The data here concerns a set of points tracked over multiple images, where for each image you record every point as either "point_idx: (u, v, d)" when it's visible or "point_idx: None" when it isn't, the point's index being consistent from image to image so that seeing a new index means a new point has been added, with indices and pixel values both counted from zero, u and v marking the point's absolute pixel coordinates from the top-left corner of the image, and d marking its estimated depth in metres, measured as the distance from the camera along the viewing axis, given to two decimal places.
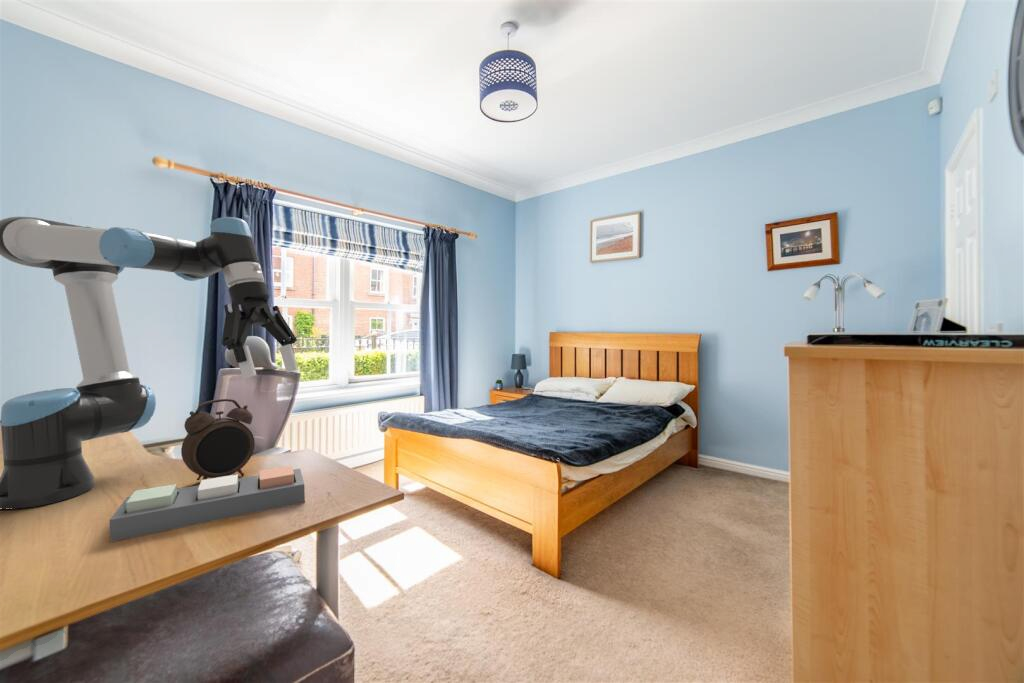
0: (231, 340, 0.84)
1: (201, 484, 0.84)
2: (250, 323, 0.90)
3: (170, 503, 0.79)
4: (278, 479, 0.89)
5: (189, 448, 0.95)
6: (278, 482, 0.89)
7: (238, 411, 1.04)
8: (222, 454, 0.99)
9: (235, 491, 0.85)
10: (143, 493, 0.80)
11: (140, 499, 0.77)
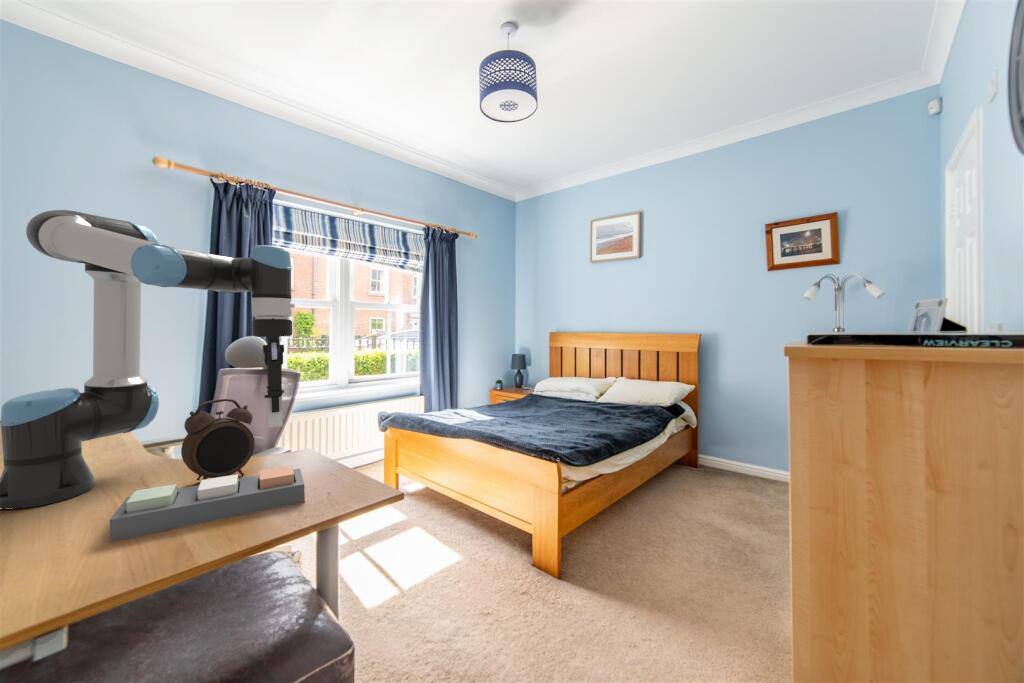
0: (281, 393, 0.87)
1: (201, 484, 0.84)
2: None
3: (170, 503, 0.79)
4: (278, 479, 0.89)
5: (189, 448, 0.95)
6: (278, 482, 0.89)
7: (238, 411, 1.04)
8: (222, 454, 0.99)
9: (235, 491, 0.85)
10: (143, 493, 0.80)
11: (140, 499, 0.77)
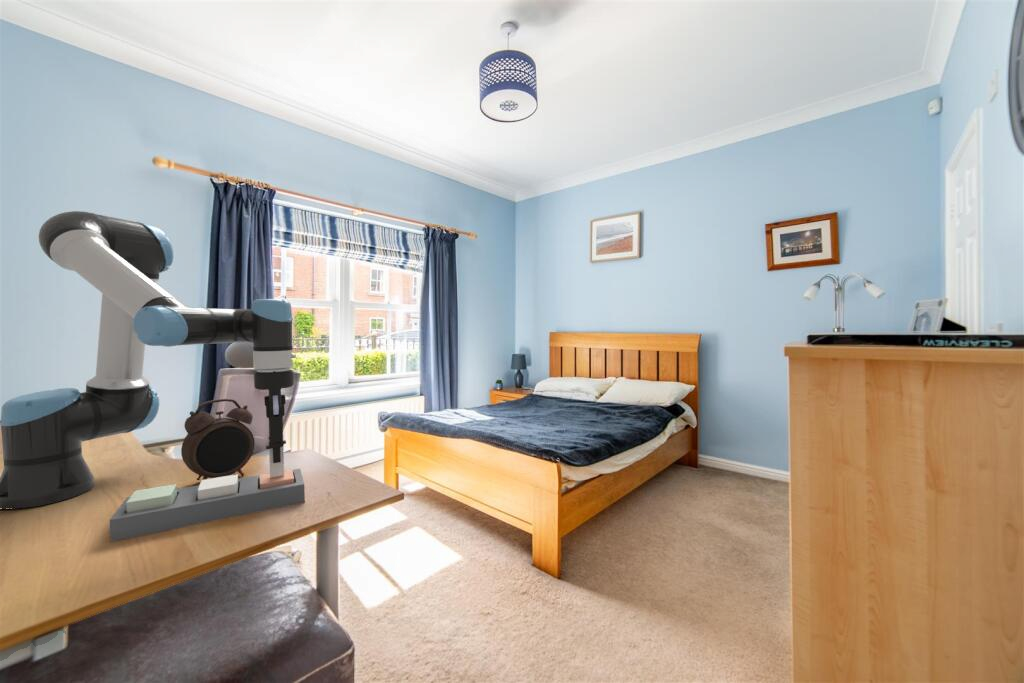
0: (282, 445, 0.88)
1: (201, 484, 0.84)
2: None
3: (170, 503, 0.79)
4: (278, 483, 0.89)
5: (189, 448, 0.95)
6: None
7: (238, 411, 1.04)
8: (222, 454, 0.99)
9: (235, 491, 0.85)
10: (143, 493, 0.80)
11: (140, 499, 0.77)
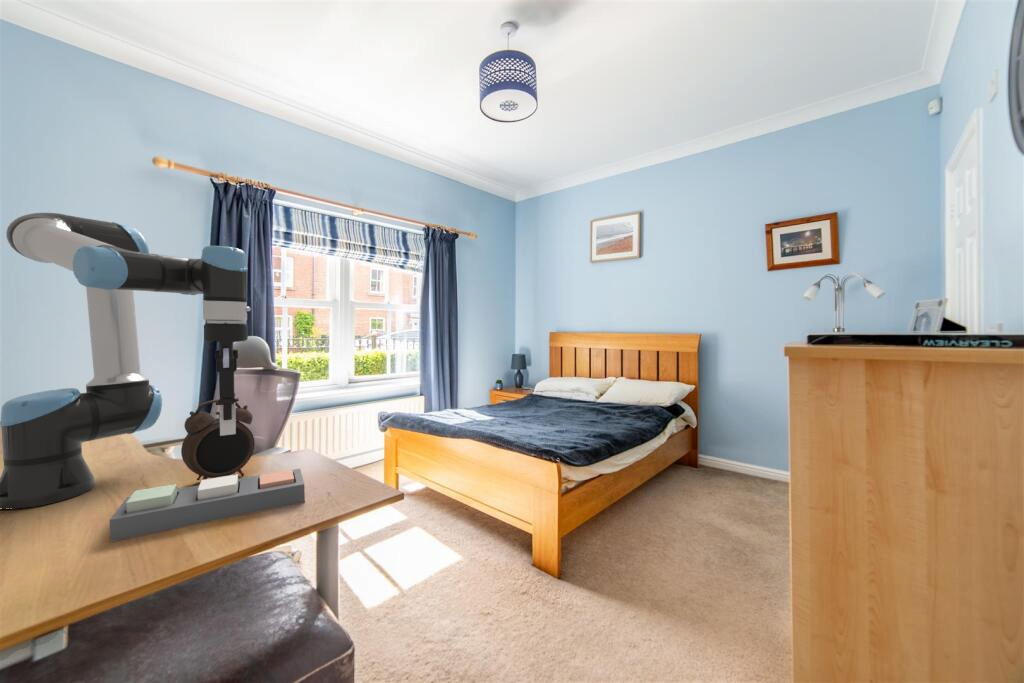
0: (233, 401, 0.84)
1: (201, 484, 0.84)
2: None
3: (170, 503, 0.79)
4: (278, 483, 0.89)
5: (189, 448, 0.95)
6: None
7: (238, 411, 1.04)
8: (222, 454, 0.99)
9: (235, 491, 0.85)
10: (143, 493, 0.80)
11: (140, 499, 0.77)
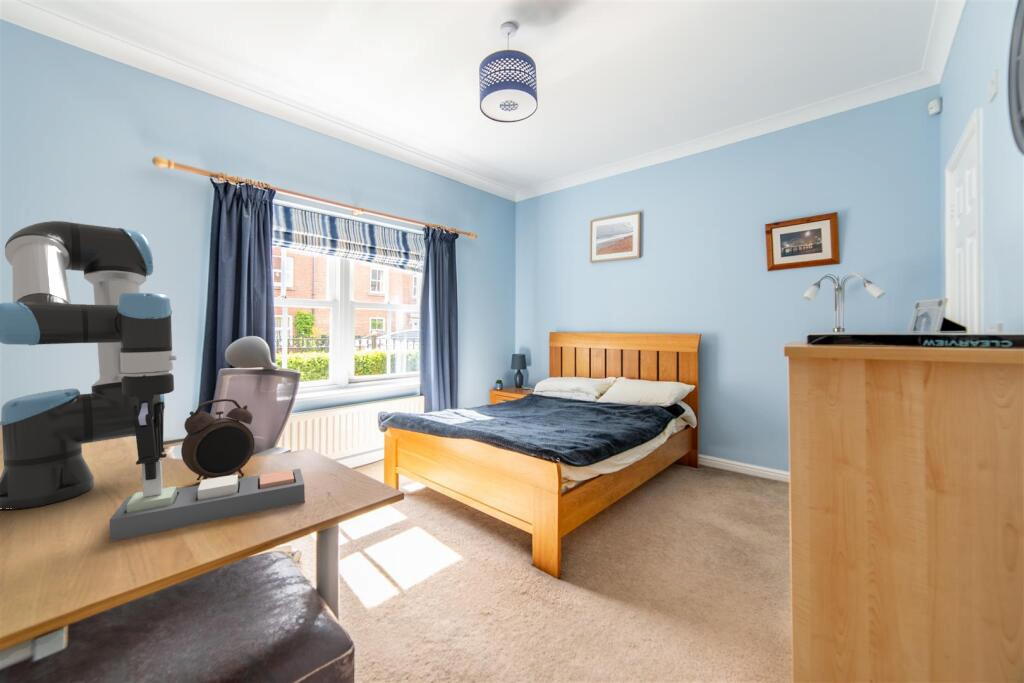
0: (154, 460, 0.77)
1: (201, 484, 0.84)
2: (157, 428, 0.79)
3: None
4: (278, 483, 0.89)
5: (189, 448, 0.95)
6: None
7: (238, 411, 1.04)
8: (222, 454, 0.99)
9: (235, 491, 0.85)
10: None
11: (140, 501, 0.77)
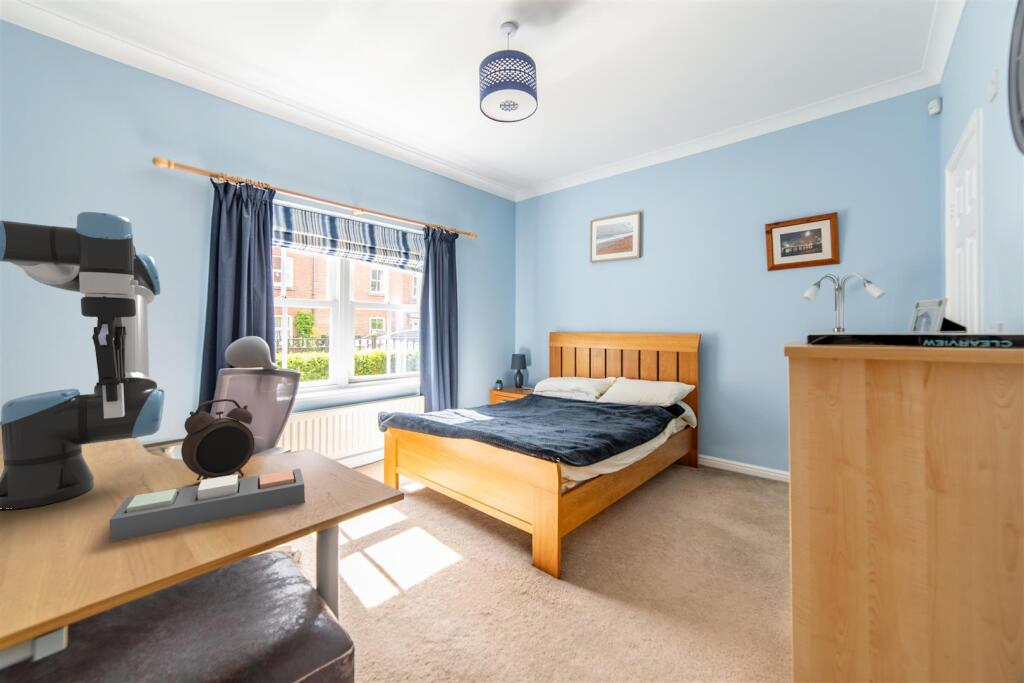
0: (115, 381, 0.78)
1: (201, 484, 0.84)
2: (118, 351, 0.79)
3: None
4: (278, 483, 0.89)
5: (189, 448, 0.95)
6: None
7: (238, 411, 1.04)
8: (222, 454, 0.99)
9: (235, 491, 0.85)
10: (144, 498, 0.80)
11: (140, 504, 0.77)
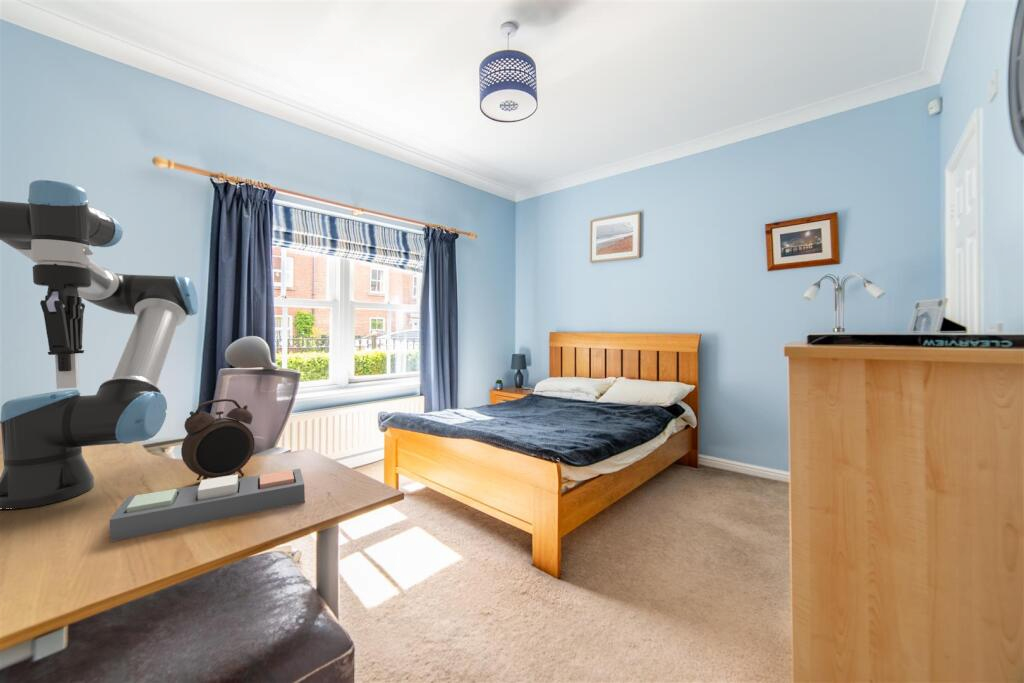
0: (67, 350, 0.77)
1: (201, 484, 0.84)
2: (71, 320, 0.79)
3: None
4: (278, 483, 0.89)
5: (189, 448, 0.95)
6: None
7: (238, 411, 1.04)
8: (222, 454, 0.99)
9: (235, 491, 0.85)
10: (144, 498, 0.80)
11: (140, 504, 0.77)
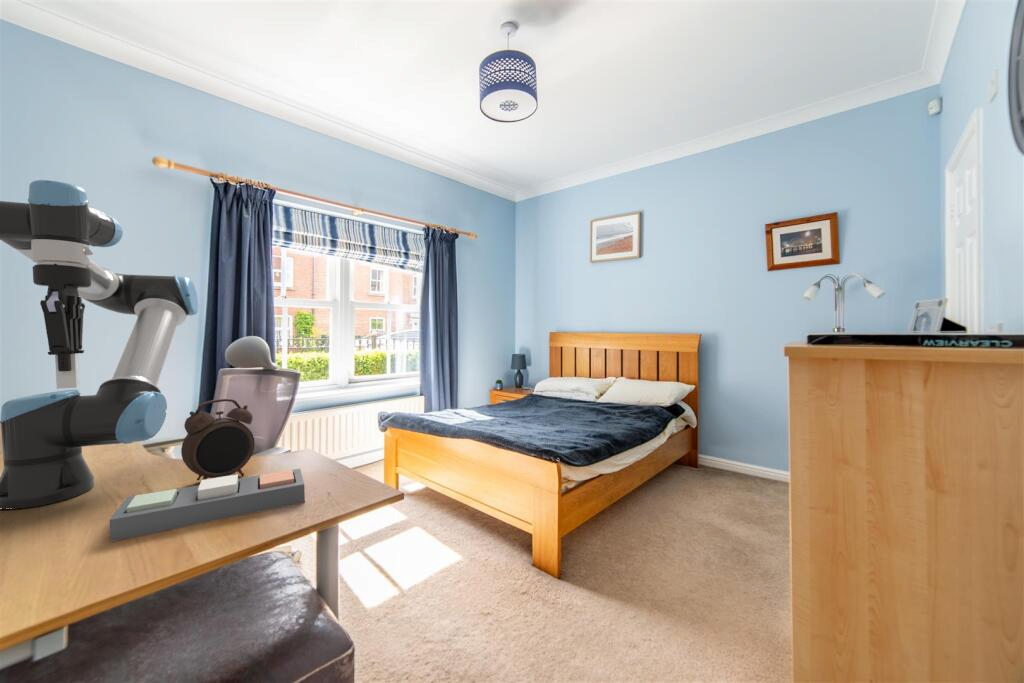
0: (67, 350, 0.77)
1: (201, 484, 0.84)
2: (71, 320, 0.79)
3: None
4: (278, 483, 0.89)
5: (189, 448, 0.95)
6: None
7: (238, 411, 1.04)
8: (222, 454, 0.99)
9: (235, 491, 0.85)
10: (144, 498, 0.80)
11: (140, 504, 0.77)
